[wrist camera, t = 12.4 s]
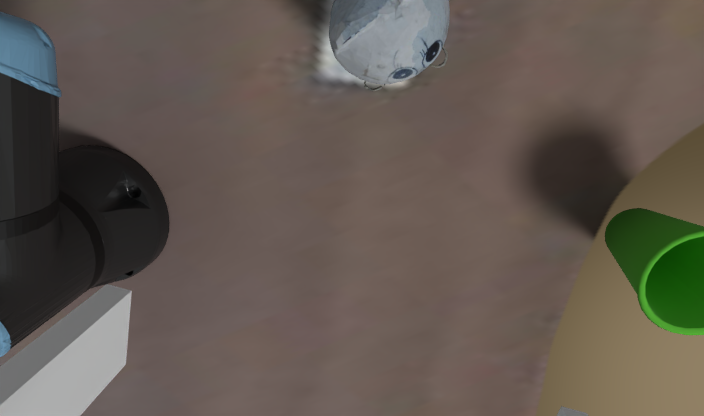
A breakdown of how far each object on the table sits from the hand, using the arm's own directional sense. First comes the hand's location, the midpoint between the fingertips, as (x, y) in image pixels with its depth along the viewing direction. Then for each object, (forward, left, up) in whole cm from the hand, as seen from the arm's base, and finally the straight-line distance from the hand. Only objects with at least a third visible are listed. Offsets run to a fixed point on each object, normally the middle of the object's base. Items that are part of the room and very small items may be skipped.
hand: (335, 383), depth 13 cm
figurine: (-2, +12, -33) cm, 35 cm away
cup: (+26, 0, -33) cm, 42 cm away
